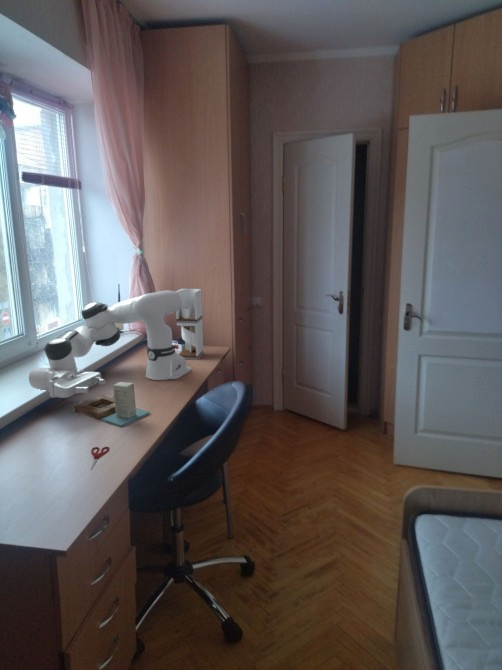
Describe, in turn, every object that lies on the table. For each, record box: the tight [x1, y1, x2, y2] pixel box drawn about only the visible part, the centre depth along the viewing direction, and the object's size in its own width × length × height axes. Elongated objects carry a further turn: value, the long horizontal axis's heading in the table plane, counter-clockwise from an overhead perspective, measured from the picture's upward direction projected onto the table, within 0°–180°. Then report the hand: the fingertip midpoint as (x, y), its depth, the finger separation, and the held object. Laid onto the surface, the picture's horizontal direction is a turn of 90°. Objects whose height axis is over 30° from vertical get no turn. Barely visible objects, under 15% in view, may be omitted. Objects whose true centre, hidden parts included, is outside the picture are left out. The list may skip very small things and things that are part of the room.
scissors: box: [90, 446, 110, 471], centre depth 149 cm, size 5×14×1 cm, turn 4°
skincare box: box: [112, 381, 137, 418], centre depth 177 cm, size 6×4×12 cm
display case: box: [175, 288, 204, 361], centre depth 252 cm, size 11×11×35 cm
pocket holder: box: [73, 394, 116, 421], centre depth 186 cm, size 14×14×2 cm
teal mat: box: [101, 407, 151, 428], centre depth 179 cm, size 14×10×1 cm
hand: (95, 386), depth 181 cm, fingers open, 8 cm apart
